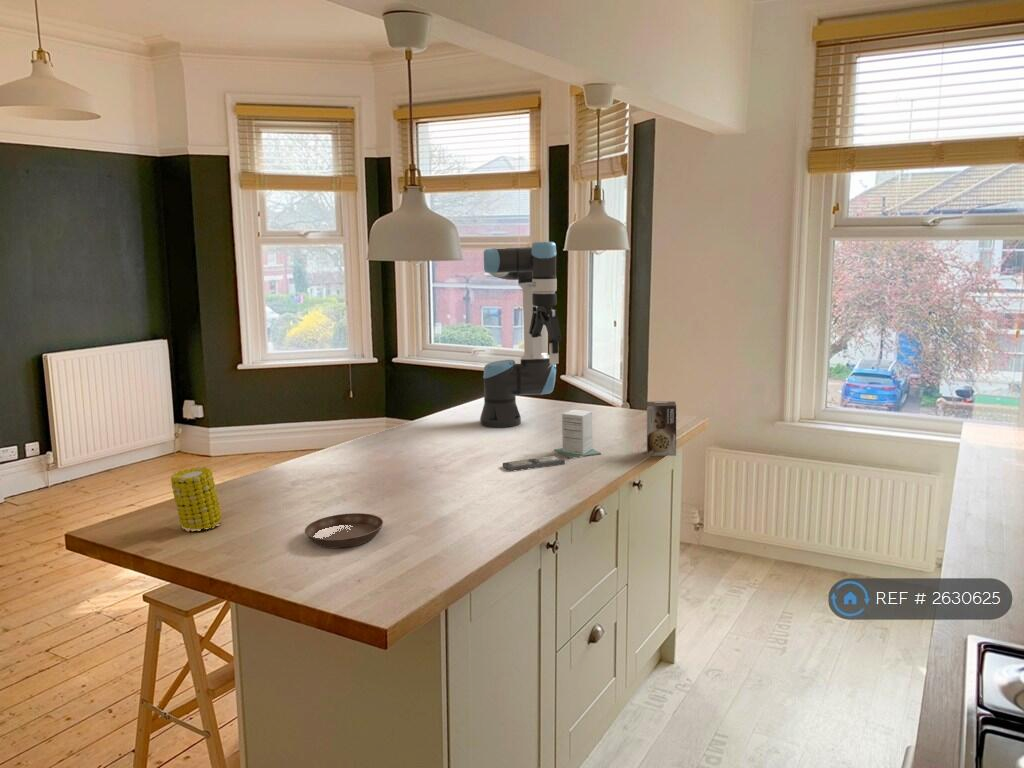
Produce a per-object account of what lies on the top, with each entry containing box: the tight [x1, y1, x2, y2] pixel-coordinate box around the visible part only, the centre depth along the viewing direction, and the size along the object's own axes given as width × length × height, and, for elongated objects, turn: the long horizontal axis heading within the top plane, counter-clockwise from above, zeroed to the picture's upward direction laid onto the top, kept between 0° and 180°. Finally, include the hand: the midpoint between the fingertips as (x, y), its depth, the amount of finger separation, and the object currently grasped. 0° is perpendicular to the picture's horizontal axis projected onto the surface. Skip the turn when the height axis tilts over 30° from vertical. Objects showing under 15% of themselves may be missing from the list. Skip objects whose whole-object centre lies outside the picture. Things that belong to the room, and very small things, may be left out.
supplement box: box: [561, 409, 593, 455], centre depth 248 cm, size 7×7×13 cm
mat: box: [553, 447, 602, 459], centre depth 249 cm, size 11×11×1 cm
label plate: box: [502, 455, 566, 472], centre depth 235 cm, size 6×18×2 cm, turn 112°
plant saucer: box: [304, 512, 384, 549], centre depth 180 cm, size 18×18×3 cm
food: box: [170, 466, 222, 530], centre depth 188 cm, size 15×12×10 cm
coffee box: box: [646, 400, 677, 457], centre depth 244 cm, size 9×6×16 cm
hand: (545, 360), depth 246 cm, fingers open, 13 cm apart
